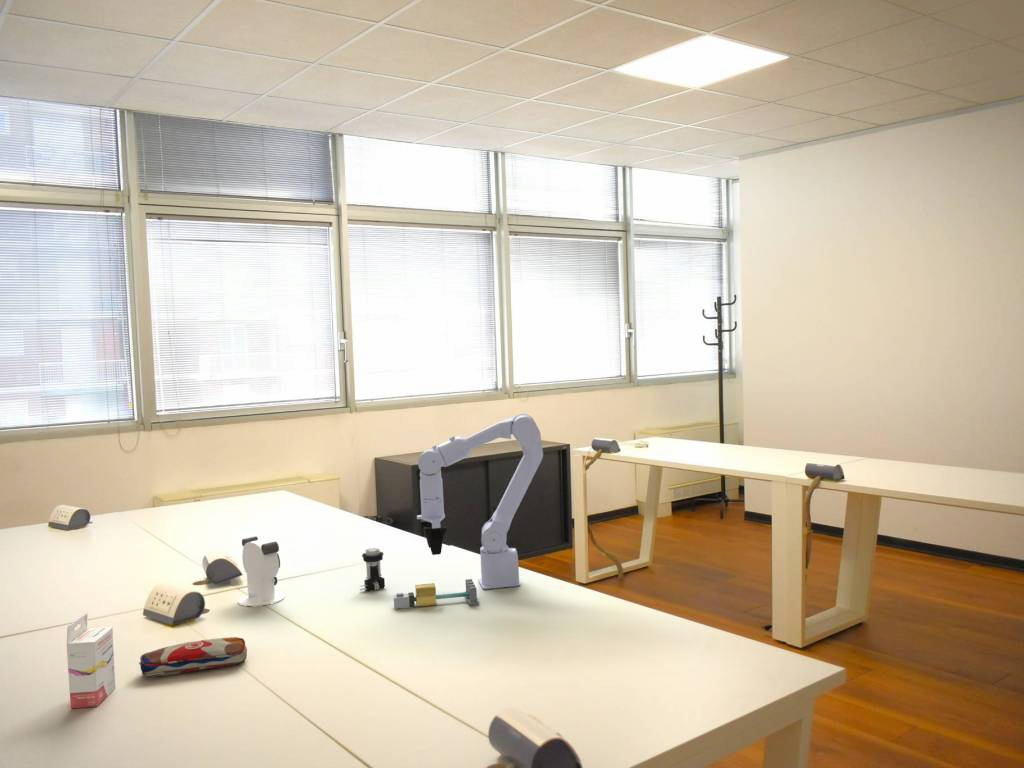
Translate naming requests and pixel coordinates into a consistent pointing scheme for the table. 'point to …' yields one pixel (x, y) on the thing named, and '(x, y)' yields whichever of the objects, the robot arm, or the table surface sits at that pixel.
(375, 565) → the push button
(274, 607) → the table surface
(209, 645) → the pencil case
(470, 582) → the cable comb
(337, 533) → the table surface
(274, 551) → the panda figurine
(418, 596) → the marker sleeve
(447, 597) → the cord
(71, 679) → the ink cartridge box
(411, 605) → the band
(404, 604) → the connector
